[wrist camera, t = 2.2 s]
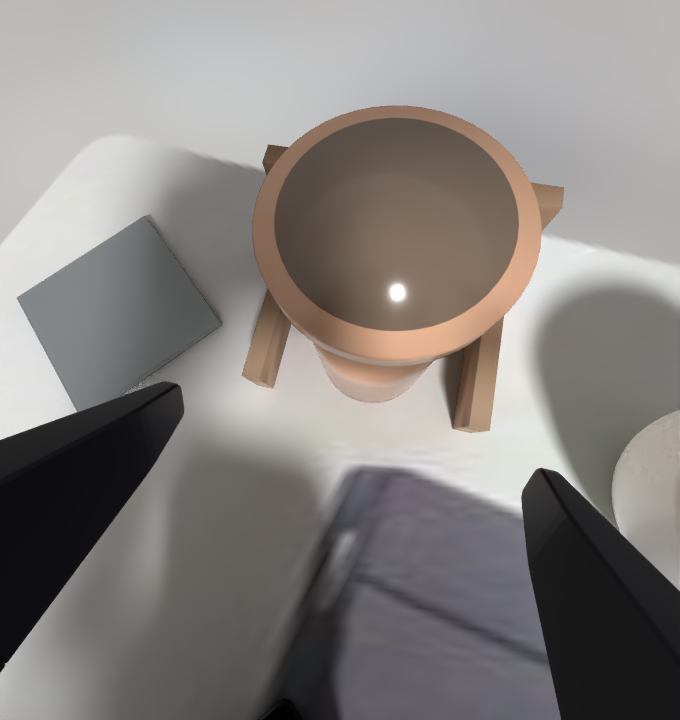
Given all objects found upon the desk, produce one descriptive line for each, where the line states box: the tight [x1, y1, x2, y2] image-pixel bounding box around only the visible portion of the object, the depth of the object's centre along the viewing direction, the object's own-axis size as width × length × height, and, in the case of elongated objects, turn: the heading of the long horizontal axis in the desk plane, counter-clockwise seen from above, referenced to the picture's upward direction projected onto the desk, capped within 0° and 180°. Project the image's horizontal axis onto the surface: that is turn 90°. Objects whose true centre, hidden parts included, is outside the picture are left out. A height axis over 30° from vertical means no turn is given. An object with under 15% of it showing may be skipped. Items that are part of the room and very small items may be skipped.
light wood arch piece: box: [242, 145, 564, 433], centre depth 18 cm, size 10×13×8 cm
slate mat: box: [17, 216, 222, 412], centre depth 22 cm, size 10×10×1 cm
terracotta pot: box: [252, 106, 542, 403], centre depth 15 cm, size 7×7×13 cm
